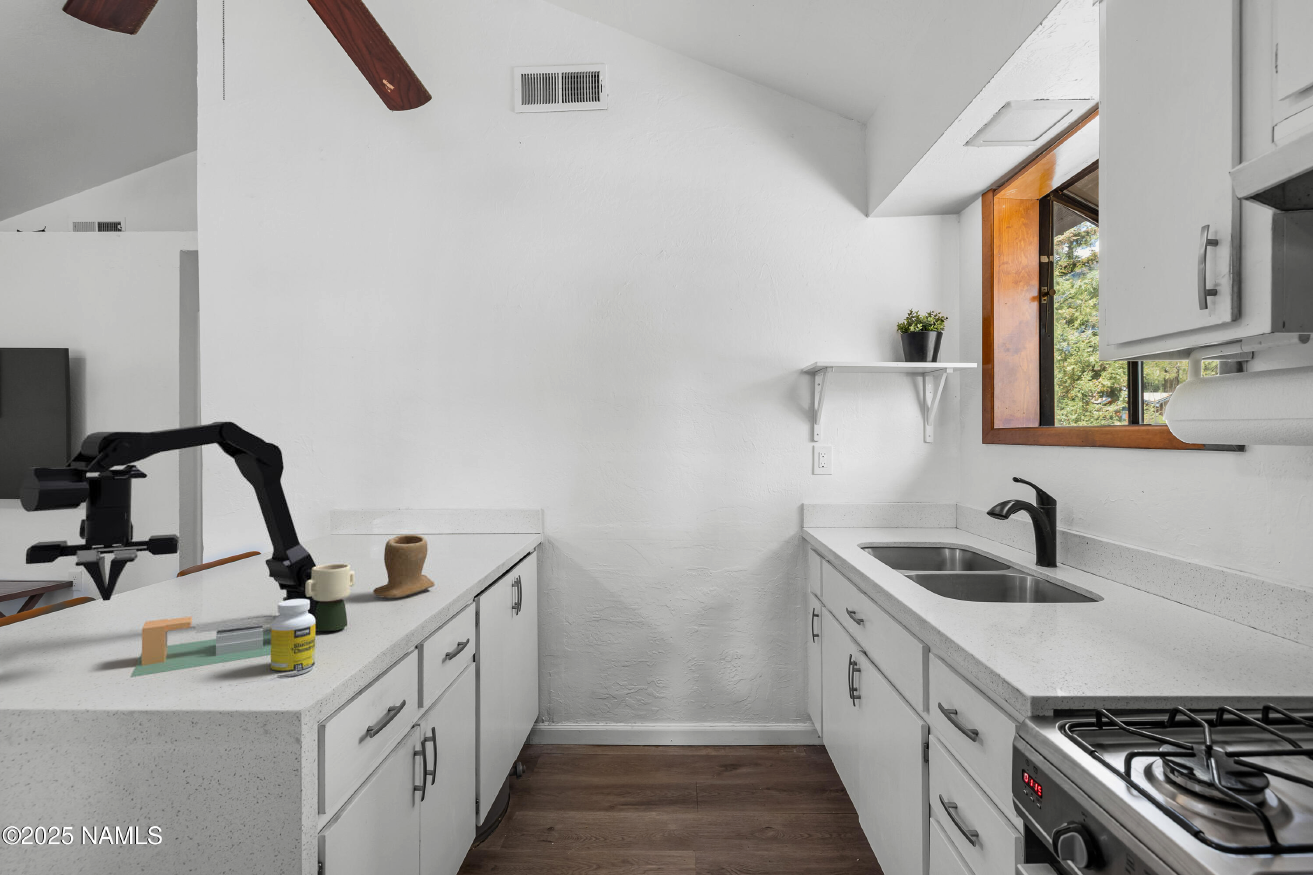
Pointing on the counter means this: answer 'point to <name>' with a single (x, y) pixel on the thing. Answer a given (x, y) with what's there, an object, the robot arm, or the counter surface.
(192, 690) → the counter surface
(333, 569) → the character mug
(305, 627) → the pill bottle
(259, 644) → the heatsink board
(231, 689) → the counter surface
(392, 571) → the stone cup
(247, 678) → the counter surface
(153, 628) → the orange stepped block
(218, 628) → the flat grey bar
